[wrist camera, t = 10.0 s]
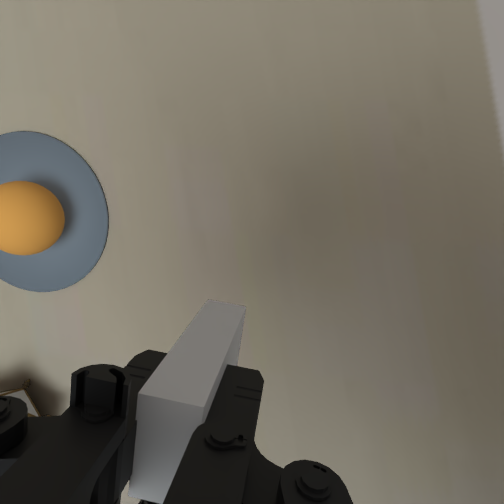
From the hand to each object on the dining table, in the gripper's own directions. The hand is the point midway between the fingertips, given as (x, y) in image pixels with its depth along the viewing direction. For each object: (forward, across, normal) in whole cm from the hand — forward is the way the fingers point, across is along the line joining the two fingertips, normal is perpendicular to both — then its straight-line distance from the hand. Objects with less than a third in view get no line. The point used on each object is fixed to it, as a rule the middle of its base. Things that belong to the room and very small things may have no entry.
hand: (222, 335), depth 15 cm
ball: (+13, +18, 0) cm, 22 cm away
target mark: (+15, +19, 0) cm, 24 cm away
